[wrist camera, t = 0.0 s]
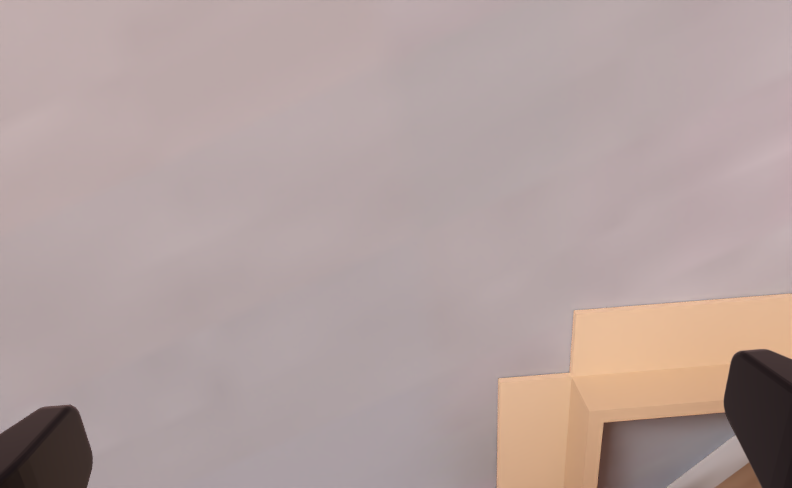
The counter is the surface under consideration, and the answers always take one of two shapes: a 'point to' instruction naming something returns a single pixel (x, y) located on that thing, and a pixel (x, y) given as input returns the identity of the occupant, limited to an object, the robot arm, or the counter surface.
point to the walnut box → (720, 470)
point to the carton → (628, 381)
